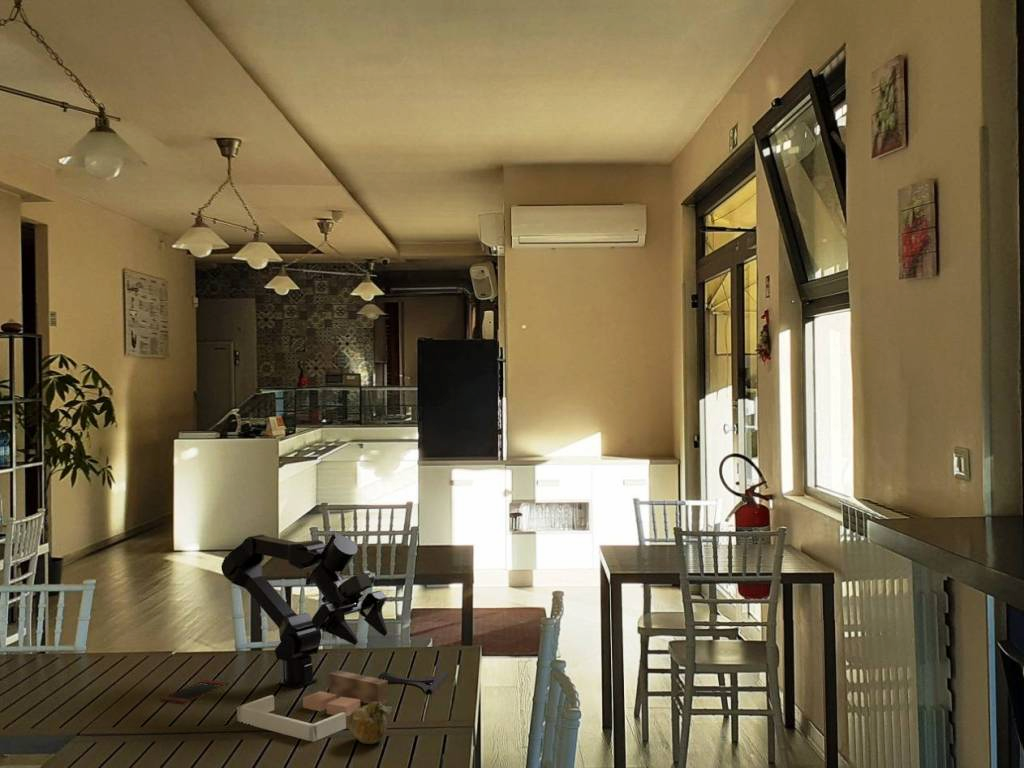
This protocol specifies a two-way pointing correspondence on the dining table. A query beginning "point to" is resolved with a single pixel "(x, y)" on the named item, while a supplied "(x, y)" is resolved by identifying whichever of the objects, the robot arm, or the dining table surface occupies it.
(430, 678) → the bracket
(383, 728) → the onion
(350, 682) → the bar
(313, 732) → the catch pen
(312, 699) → the tile
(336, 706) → the tile
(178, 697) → the smartphone
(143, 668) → the dining table surface
